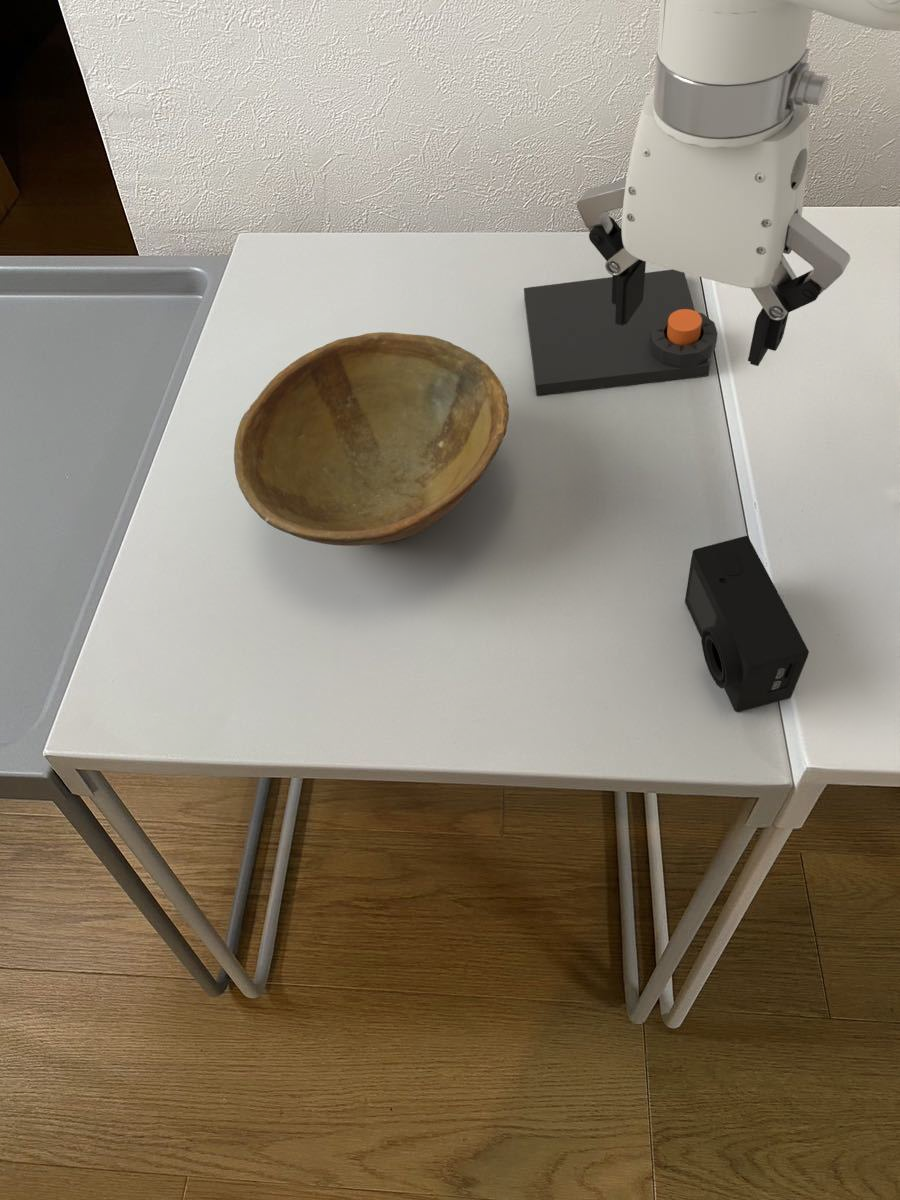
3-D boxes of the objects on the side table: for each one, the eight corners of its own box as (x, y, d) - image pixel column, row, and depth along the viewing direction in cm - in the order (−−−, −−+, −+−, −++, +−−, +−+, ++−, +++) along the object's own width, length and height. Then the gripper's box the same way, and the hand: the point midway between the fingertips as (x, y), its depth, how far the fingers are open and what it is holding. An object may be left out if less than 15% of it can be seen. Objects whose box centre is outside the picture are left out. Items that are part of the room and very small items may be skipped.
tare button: (696, 322, 87) (698, 306, 85) (702, 343, 85) (704, 328, 84) (664, 325, 87) (665, 310, 86) (669, 347, 85) (671, 332, 84)
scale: (691, 278, 94) (694, 252, 92) (718, 374, 86) (722, 350, 84) (524, 298, 95) (522, 274, 93) (536, 395, 88) (535, 372, 85)
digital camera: (668, 603, 74) (675, 551, 68) (734, 586, 74) (747, 532, 68) (719, 717, 68) (731, 671, 62) (790, 698, 68) (809, 650, 62)
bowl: (564, 529, 79) (562, 449, 71) (320, 651, 75) (288, 582, 67) (447, 378, 90) (433, 294, 82) (231, 476, 87) (194, 399, 79)
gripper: (913, 75, 48) (837, 332, 63) (610, 24, 55) (603, 268, 69) (865, 154, 45) (796, 406, 60) (550, 90, 52) (556, 331, 66)
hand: (693, 331), depth 64 cm, fingers open, 9 cm apart
